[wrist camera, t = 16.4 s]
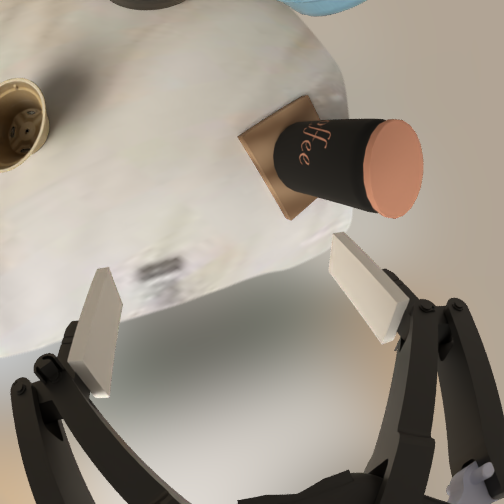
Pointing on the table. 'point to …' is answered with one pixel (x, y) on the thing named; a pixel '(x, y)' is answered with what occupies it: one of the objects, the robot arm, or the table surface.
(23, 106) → the flower pot
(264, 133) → the walnut board
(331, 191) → the coffee jar
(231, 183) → the table surface
